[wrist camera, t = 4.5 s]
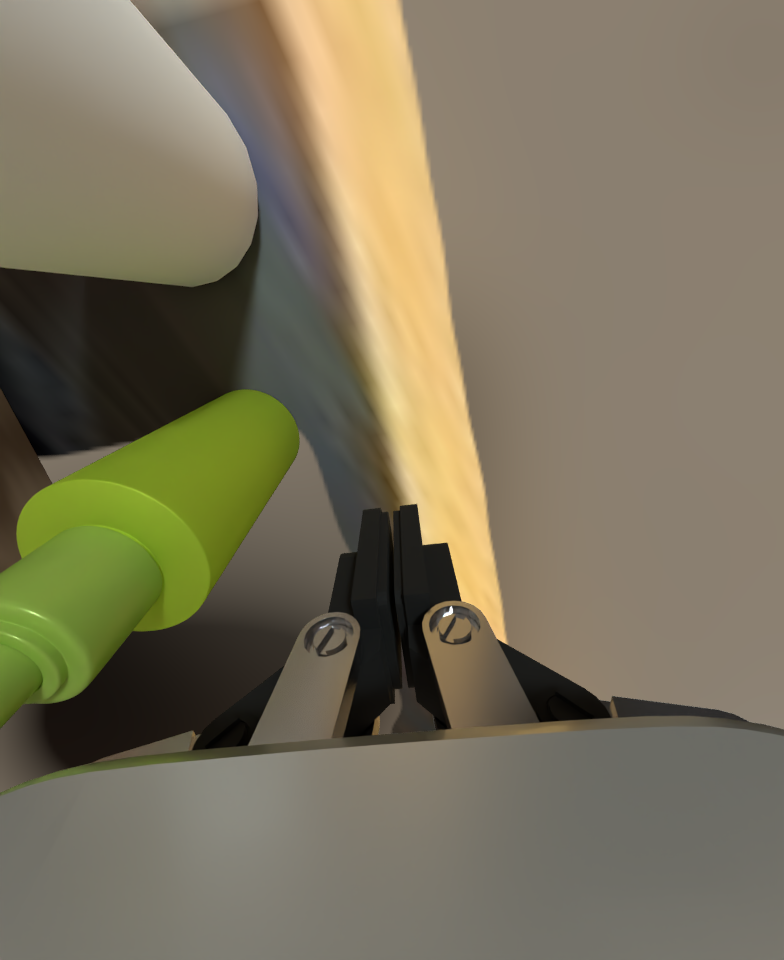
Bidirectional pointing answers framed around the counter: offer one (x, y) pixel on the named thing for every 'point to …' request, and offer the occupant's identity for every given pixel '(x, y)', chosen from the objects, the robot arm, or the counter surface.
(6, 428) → the bottle rest
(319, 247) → the counter surface
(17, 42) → the potion bottle
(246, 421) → the soap dispenser
